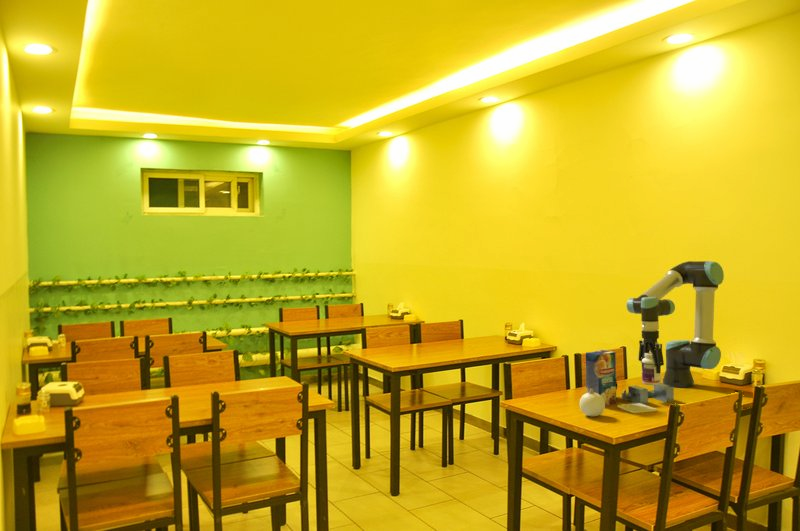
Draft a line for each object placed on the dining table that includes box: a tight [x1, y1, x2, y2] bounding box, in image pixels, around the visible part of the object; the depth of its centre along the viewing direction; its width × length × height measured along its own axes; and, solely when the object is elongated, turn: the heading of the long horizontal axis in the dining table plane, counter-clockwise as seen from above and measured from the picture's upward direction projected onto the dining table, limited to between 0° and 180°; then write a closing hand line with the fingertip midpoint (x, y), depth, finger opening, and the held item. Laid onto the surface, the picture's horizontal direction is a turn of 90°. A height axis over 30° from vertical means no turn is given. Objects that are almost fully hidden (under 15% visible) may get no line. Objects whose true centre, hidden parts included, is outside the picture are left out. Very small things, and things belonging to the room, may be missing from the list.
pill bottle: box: [641, 352, 662, 386], centre depth 302 cm, size 8×8×14 cm
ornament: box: [579, 389, 606, 418], centre depth 278 cm, size 10×10×12 cm
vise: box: [621, 382, 675, 405], centre depth 304 cm, size 24×14×7 cm, turn 105°
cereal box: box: [585, 349, 617, 407], centre depth 299 cm, size 12×8×24 cm, turn 123°
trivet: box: [616, 403, 658, 414], centre depth 288 cm, size 12×12×1 cm
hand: (651, 378), depth 302 cm, fingers closed on pill bottle, 8 cm apart
